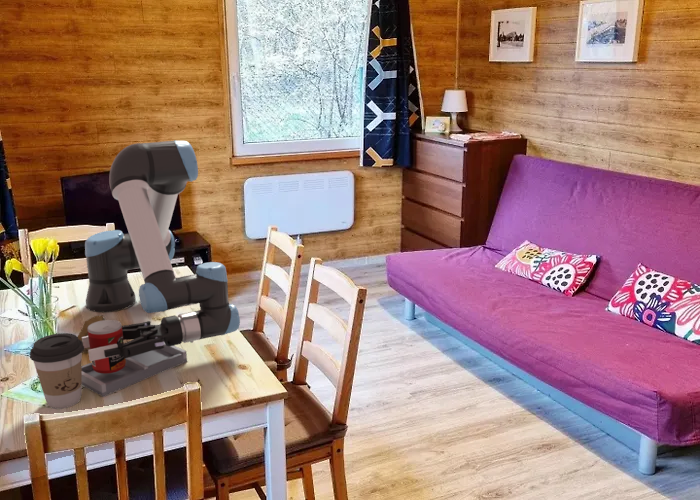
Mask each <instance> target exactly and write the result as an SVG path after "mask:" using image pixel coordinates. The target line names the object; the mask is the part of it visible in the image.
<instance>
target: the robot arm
mask: <svg viewBox="0 0 700 500" xmlns="http://www.w3.org/2000/svg"><path fill="white" fill-rule="evenodd" d="M198 166H199V165H198V160H197V156H196V153H195V150H194V148H193V146H192V144H191V143H190V142H188V141H187V140H176V139H175V140H168V141H167V140H166V141H155V142H154V141H153V142H144V143H140V142H138V143H133V144H130V145H127V146H126V147H124V148H123V149H122V150H121V151H119V152H118V153H117V155H116V156H115V157H114V159H113V162H112V163H111V166H110V170H109V175H108V176H109V178H108V179H109V181H108V182H109V184H108V185H109V187H110V191H111V195H112V197H113V198H114V200H116V201H118V203H119V208H120V210H121V213H122V216H123V219H124V223H125V226H126V228H127V231H128V233H123V231H122V230H120V229H113V230H105V231H100V232H97V233H95V234H92V235H91V236H89V237H87V239H85V241H84V249H85V250H84V255H85V259H86V267H87V275H88V282H89V283H88V288H87V291H86V292H87V293H86V298H85V307H86V309H87V310H88V311H92V312H98V313H109V312H116V311H121V310H125V309H128V308H130V307H131V306H133V305H134V304H135V303H136V302H137V300H136V298H137V297H136V294H135V291H134V289H133V287H132V285H131V282H130V281H129V279H128V271H130V270H136V269H140V272H141V276H142V278H143V281H144V283H143V284H141V285H140V286H139V289H138V297H139V303H140V305H141V308H142V309H143V311H144V312H145V313H147V314H155V313H161V312H166V311H170V310H174V309H178V308H182V307H187V306H192V305H197V304H199V308H200V309H199V310H195V311H194V310H193V311H190V312H184V313H179V314H177V315H169V316H166V317H163V318H161V320H160V323H159V324H152V323H151V321H150V320H147V321H143V322H141V323H140V322H139V323H132V324H125V325H122V331H123V340H124V341H126V342H124V343H123V344H122V343H120V342H118V345H117V344H113V345H108V346H103V347H99V348H94V349H89V350H88V352H87V353H88V359H89V362H92V361H94V360H99V359H103V358H108V357H112V356H117V355H120V356H124V358H128V357H132V356H135V355H139V354H142V353H145V352H149V351H152V350H156V349H162V348H164V342H165V344H166V345H167V346H178V345H181V344H182V343H183V344H185V343H194V341H200V340H204V339H208V338H213V337H218V336H225V335H228V334H231V333H235V332H236V331H238V330H239V328H240V323H241V317H240V313H239V310H238V308H237V305H235V304H232V303H230V302H229V289H228V288H229V287H228V284H229V283H228V276H227V274H228V273H227V269H226V266H225V265H224V264H223V263H221V262H219V261H218V262H216V261H210V262H204V263H200V264H198V265H197V266H196V271H195V273H194V274H190V275H189V274H188V275H184V276H179V277H176V275H175V272H174V269H173V266H172V263H171V262H172V261H171V260H172V259H174V256H175V251H176V250H175V247H176V241H175V236H174V235H173V233H172V231H171V230H170V229H169V227H170V224H171V221H172V217H173V215H174V214H173V213H174V210H175V206H176V203H177V199H178V195H179V194H180V193H182V192H184V190H186V189H185V188H186V186H187V183H188V182H190V183H191V182H193V181H196V180H197V179H198V176H199V167H198ZM127 340H128V341H127ZM82 342H83V346H84V348H88V347H90V345H89V338H88V336H85V337H82Z"/></svg>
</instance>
